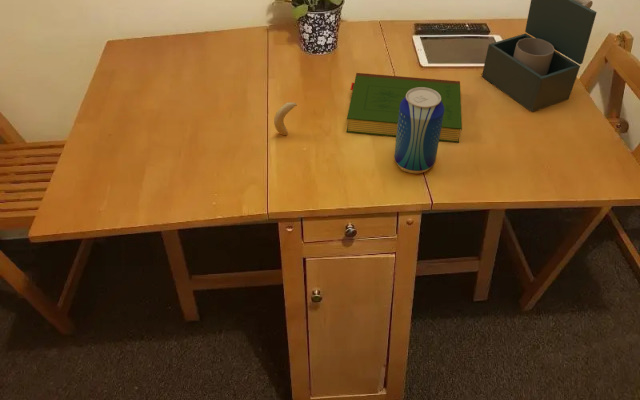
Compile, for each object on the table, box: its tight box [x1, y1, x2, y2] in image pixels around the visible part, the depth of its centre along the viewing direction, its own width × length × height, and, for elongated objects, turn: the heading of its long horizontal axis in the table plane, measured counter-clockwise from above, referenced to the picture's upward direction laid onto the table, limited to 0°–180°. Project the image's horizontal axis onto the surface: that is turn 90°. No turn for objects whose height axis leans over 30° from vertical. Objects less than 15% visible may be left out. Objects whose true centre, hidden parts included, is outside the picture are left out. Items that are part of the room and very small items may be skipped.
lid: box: [524, 0, 598, 65], centre depth 132 cm, size 12×18×6 cm
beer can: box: [393, 87, 444, 175], centre depth 114 cm, size 8×8×16 cm
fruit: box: [273, 101, 298, 136], centre depth 123 cm, size 4×8×2 cm
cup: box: [513, 37, 555, 76], centre depth 136 cm, size 8×8×10 cm
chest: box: [481, 32, 581, 113], centre depth 137 cm, size 12×18×9 cm, turn 28°
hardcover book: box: [346, 72, 463, 144], centre depth 131 cm, size 25×19×4 cm
